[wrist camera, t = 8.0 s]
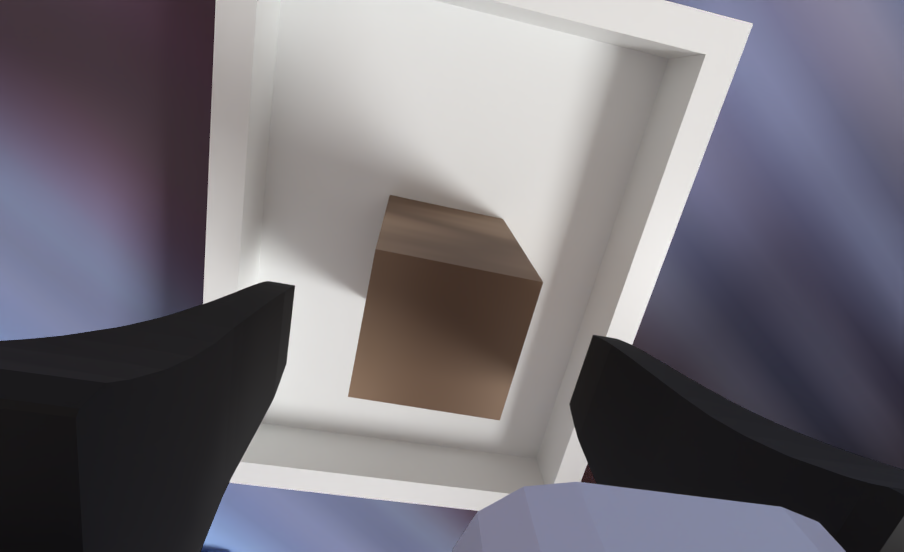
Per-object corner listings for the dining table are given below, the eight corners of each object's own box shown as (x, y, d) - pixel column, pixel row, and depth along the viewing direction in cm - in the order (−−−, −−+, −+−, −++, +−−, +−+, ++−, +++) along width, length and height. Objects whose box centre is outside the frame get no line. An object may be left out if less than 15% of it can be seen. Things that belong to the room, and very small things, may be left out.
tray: (226, 425, 21) (195, 478, 18) (258, -78, 15) (220, -118, 12) (547, 466, 22) (566, 520, 20) (695, 34, 16) (753, 23, 14)
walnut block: (369, 301, 18) (347, 396, 13) (389, 194, 17) (375, 248, 11) (475, 320, 19) (499, 420, 13) (503, 218, 17) (543, 282, 12)
